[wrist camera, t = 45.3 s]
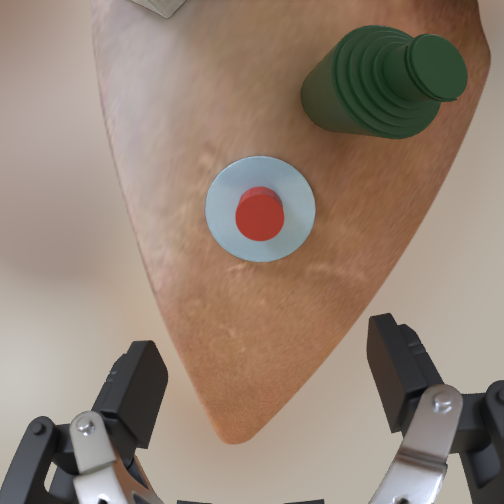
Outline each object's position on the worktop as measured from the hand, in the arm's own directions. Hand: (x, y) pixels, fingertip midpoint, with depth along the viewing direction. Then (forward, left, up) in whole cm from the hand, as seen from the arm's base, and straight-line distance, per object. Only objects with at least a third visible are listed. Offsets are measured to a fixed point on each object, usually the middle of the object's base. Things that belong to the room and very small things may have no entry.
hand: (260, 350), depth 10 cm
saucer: (0, 0, -19) cm, 19 cm away
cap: (0, 0, -18) cm, 18 cm away
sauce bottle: (-9, +8, -19) cm, 22 cm away
